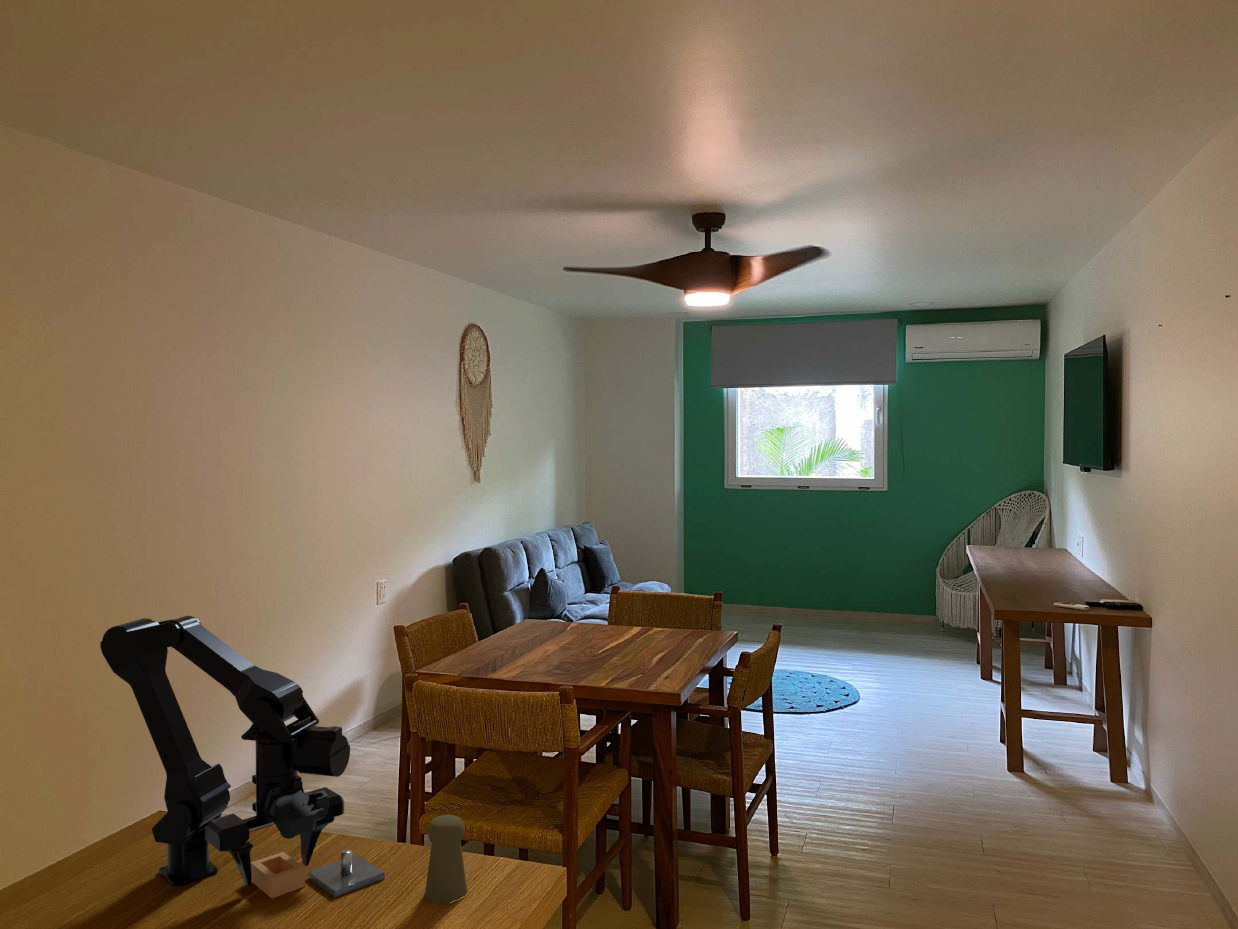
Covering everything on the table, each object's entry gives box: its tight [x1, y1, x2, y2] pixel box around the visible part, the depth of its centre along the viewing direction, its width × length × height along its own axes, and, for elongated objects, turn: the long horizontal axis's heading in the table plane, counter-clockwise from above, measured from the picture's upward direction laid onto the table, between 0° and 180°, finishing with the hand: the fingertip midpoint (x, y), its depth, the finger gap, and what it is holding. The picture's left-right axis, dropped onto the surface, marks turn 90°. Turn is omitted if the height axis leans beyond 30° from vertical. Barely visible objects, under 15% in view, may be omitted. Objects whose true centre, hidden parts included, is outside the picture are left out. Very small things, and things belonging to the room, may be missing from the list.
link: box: [251, 851, 306, 899], centre depth 137 cm, size 7×5×3 cm
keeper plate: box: [307, 849, 386, 898], centre depth 139 cm, size 8×8×4 cm
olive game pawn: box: [424, 814, 468, 905], centre depth 134 cm, size 6×6×11 cm
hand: (277, 875), depth 137 cm, fingers open, 8 cm apart
